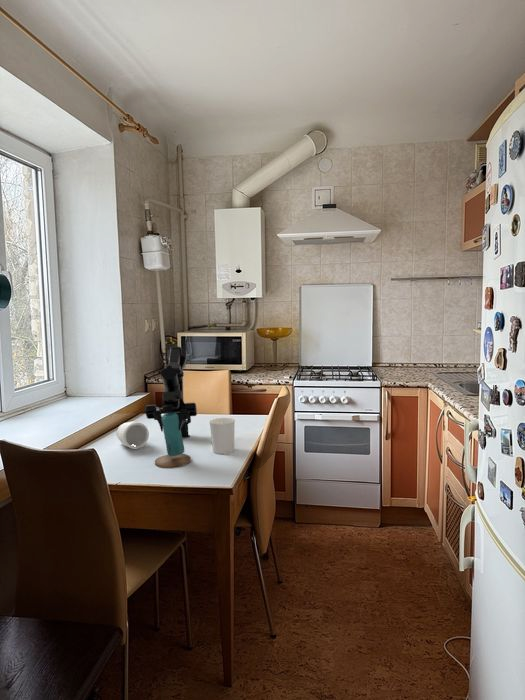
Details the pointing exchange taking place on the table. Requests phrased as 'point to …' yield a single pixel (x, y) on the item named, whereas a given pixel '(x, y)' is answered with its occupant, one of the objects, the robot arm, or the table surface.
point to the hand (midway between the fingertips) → (170, 430)
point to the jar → (133, 434)
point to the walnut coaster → (172, 461)
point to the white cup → (222, 435)
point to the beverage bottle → (172, 432)
